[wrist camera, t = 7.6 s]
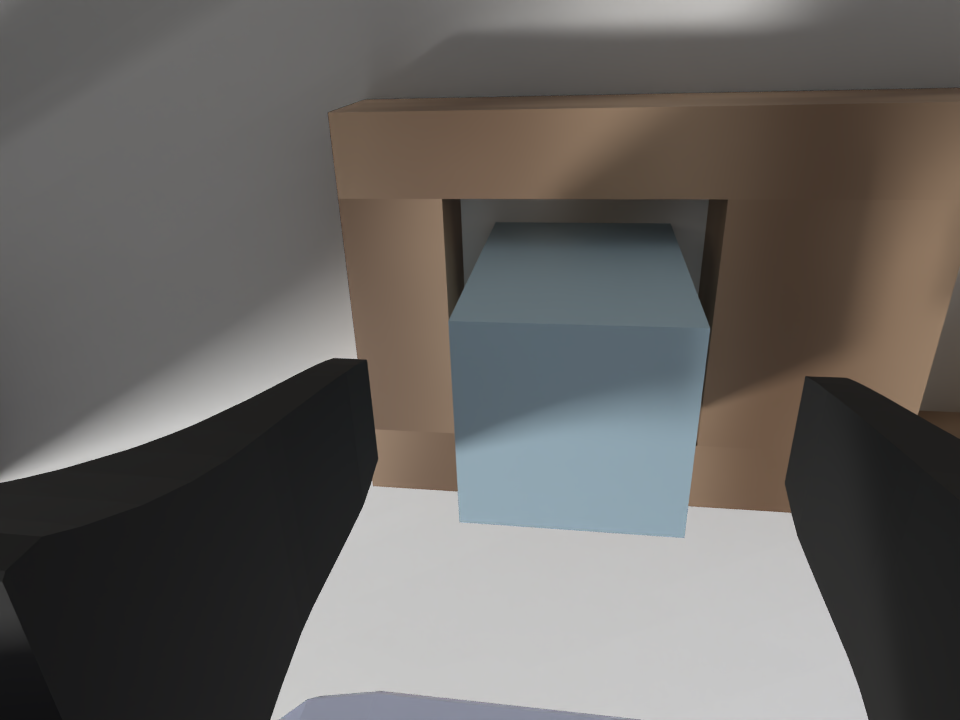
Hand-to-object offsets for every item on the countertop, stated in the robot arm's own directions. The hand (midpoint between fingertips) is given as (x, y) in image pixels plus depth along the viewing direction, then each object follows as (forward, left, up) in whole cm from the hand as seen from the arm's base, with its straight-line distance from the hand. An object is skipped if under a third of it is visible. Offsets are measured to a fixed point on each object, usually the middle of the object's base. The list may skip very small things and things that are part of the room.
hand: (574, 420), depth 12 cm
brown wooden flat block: (-5, 0, -6) cm, 8 cm away
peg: (0, 0, -6) cm, 6 cm away
